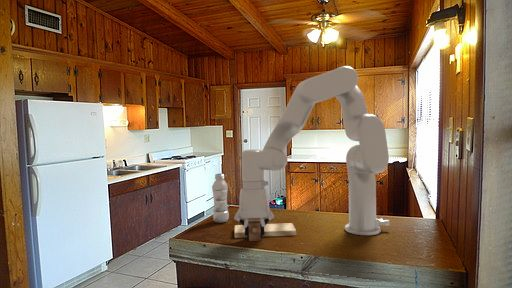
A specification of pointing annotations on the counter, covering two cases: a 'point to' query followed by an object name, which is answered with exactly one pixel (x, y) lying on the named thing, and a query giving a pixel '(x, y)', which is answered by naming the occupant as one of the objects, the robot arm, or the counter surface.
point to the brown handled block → (254, 230)
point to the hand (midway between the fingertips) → (254, 236)
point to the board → (269, 230)
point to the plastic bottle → (220, 199)
